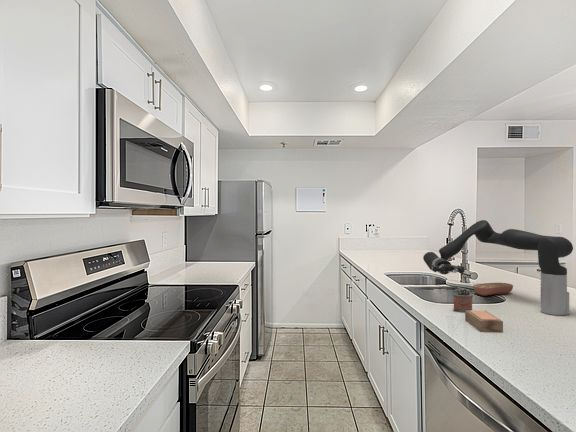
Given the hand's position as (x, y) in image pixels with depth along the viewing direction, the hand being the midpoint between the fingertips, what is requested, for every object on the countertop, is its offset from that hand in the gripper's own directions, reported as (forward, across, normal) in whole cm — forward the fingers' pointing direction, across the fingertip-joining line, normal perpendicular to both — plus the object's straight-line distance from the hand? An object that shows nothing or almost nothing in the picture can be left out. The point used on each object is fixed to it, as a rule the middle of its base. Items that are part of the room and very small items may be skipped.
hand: (452, 271), depth 170 cm
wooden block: (+32, 0, -16) cm, 35 cm away
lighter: (+12, 0, -16) cm, 20 cm away
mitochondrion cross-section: (-23, -28, -16) cm, 40 cm away
